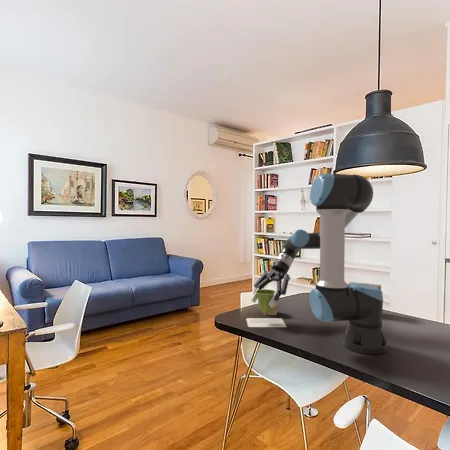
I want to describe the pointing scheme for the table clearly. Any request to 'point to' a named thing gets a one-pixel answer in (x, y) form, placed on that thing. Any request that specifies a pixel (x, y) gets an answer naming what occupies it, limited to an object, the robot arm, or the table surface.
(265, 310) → the plant pot
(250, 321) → the letter
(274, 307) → the oak block
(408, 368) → the table surface
